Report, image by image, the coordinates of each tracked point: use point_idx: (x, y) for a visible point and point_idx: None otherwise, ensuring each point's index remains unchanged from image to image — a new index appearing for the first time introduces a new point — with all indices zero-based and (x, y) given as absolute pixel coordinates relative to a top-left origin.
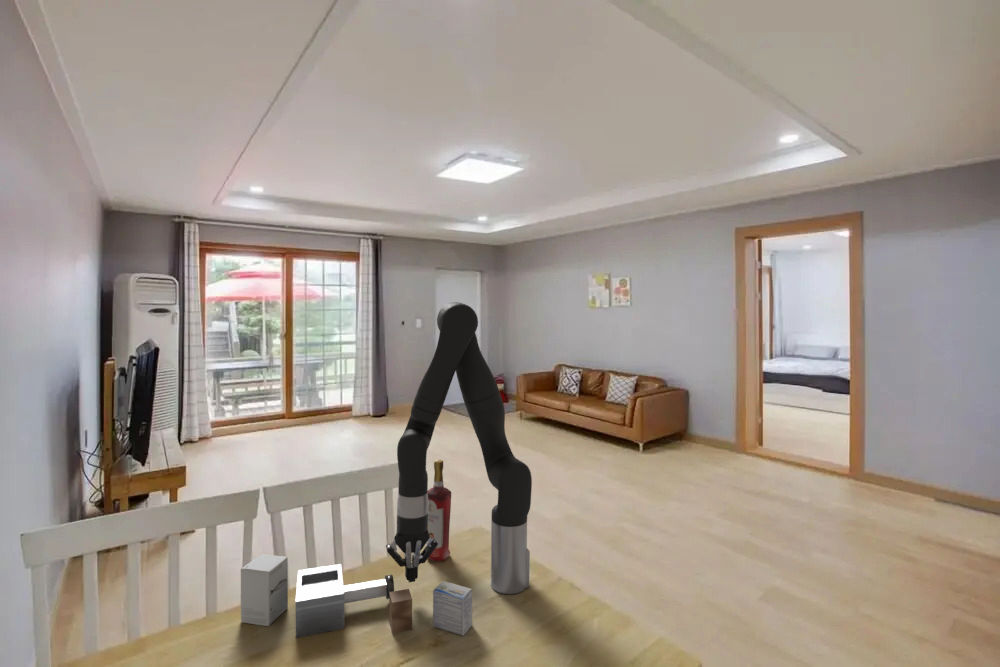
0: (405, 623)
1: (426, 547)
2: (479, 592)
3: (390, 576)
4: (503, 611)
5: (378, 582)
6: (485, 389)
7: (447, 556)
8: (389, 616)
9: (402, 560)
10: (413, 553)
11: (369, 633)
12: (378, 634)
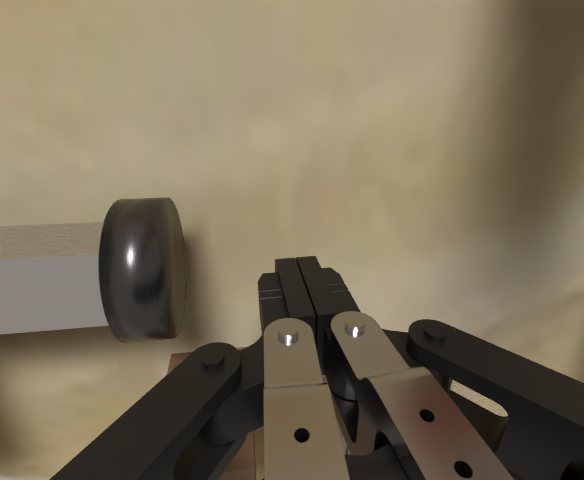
0: None
1: (550, 439)
2: (560, 253)
3: (142, 313)
4: (551, 367)
5: (59, 290)
6: None
7: None
8: (167, 374)
9: (232, 436)
10: (366, 449)
11: (95, 397)
12: (131, 405)
